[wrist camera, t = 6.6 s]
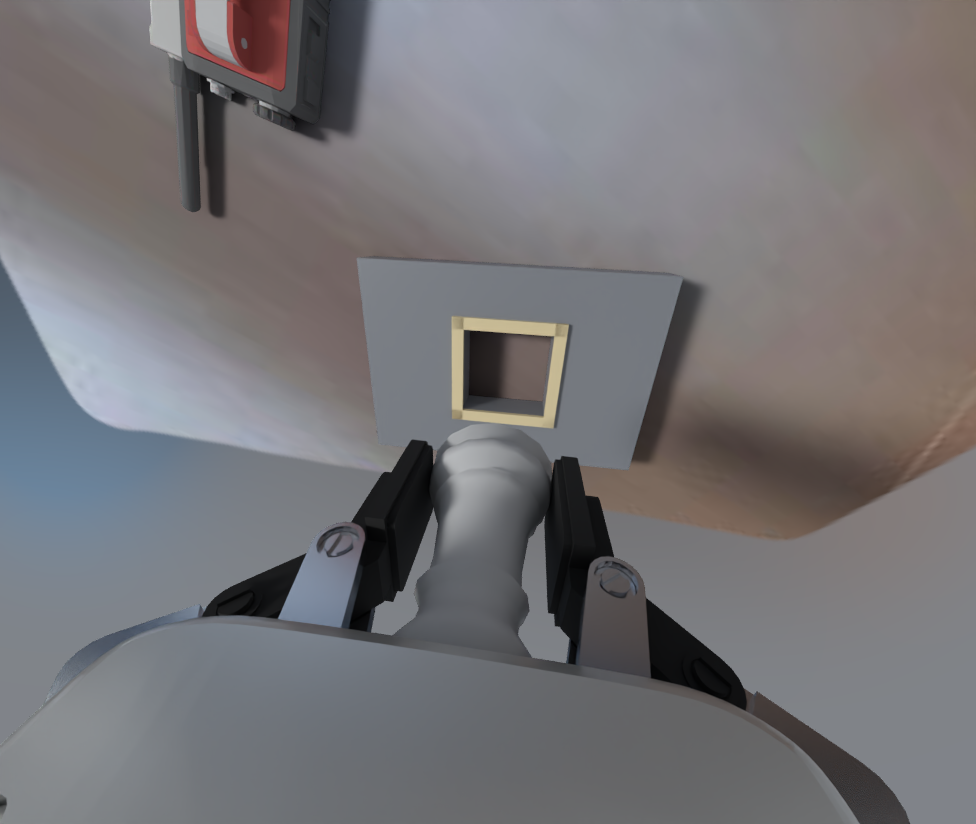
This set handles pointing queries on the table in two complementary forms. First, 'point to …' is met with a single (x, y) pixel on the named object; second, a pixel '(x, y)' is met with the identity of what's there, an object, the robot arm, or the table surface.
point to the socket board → (521, 310)
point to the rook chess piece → (481, 538)
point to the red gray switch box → (240, 63)
